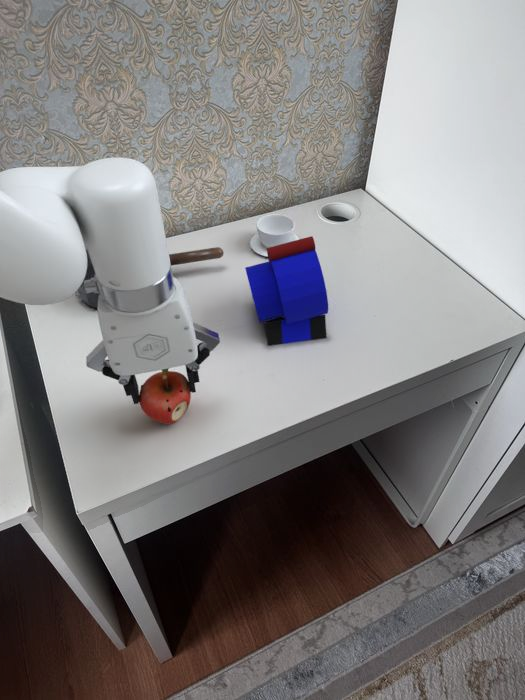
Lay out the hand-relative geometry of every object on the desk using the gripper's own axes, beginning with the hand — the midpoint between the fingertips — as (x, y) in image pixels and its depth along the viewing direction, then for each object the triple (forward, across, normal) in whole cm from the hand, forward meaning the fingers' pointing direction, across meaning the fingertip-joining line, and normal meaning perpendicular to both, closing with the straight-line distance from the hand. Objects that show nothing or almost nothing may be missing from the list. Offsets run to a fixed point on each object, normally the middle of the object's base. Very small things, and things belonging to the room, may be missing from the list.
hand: (164, 389), depth 63 cm
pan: (+5, -5, +31) cm, 32 cm away
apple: (+5, 0, 0) cm, 5 cm away
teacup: (+5, +25, +36) cm, 44 cm away
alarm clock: (+5, +21, +15) cm, 26 cm away
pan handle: (+3, +8, +31) cm, 32 cm away
